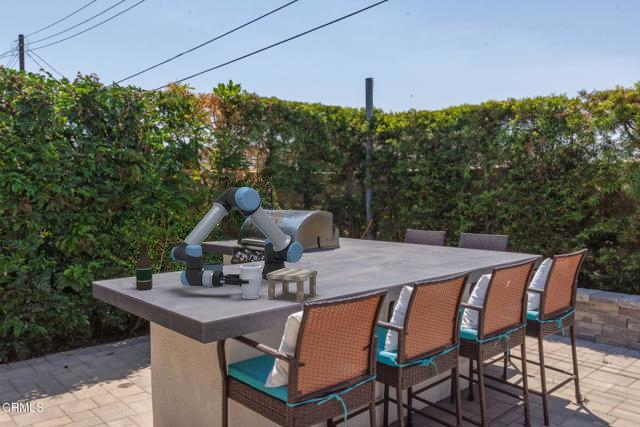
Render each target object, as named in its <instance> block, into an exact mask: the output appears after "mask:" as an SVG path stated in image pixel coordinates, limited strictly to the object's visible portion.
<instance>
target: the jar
mask: <svg viewBox="0 0 640 427" xmlns="http://www.w3.org/2000/svg"><path fill="white" fill-rule="evenodd" d="M239 269H240V271H239V274H240V279H256V285H242V286H240V291H241V293H242V295H241V298H242V299H244V300H255V299H256V300H257V299H259V298H260V291H261V289H262V288H261V287H262V281H263V278H262V271H261V270H262V269H263V268H262V265H260V264H242V265H240V266H239Z"/></svg>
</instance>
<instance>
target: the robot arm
mask: <svg viewBox="0 0 640 427" xmlns="http://www.w3.org/2000/svg"><path fill="white" fill-rule="evenodd" d="M234 210H236V211H238V212H239V213H240V214H241V215H242V216H243V217H244V218H248V219H249V220H250V221H251V222H252V223H253V224H254V225H255V227H256V228H257V229H258V230H259V231H260V232H261V233H262V234H263V235H264V236H265V238H266V239H265V240H264V245H263V252H264V258H263V260H264V261H263V262H264V265H263V268H262V271H261V274H262V280H268V278H267V274H268V273H271V272H274V271H277V270H280V269H283V268H287V267H286V264H285V263H290V264H291V263H292V264H295V263H297V262H299V261H300V260H301V259H302V257H303V255H304V247H303V245H302V244H301V243H300V242H298V241H295V240H294V239H293V238H292V237H291V235H289V234H285V232H284V231H283V230H281V228H280V227H279V226H278V224H276V222H275V221H274V220H273V219H272V218H271V216H270V215H269V214H268V213H267V212H266V211H265V209H264V208H263V207H262V201H261V199H260V194H259V192H258V191H257V190H255V189H254V188H252V187H248V186H243V187H235V186H234V187H229V188H227V189H226V190H225V191H223V192H222V193H221V194H220V195H219V196H218V197H217V198H216V200H215V201H214V202H213V203H212V207H211V208H210V210H208V212H207V213H206V214H205V215H204V216H203V218H202V219H201V220H200V221H199V222H198V224H197V225H196V226H195V227H194V228H193V229H192V231H191V232H190V233H189V234H188V235H187V236H186V238H185V239H184V240H183V241H182V242H181V244H180V245H178V246H175V247H173V248H172V250H171V251H170V257H171V259H172V260H173V261H175V262H177V263H182V264H185V269H184V270H182V271H181V273H180V283H181V285H182V286H186V287H188V286H189V287H206V286H207V287H206V288H209V286H214V287H217V288H221V287H222V286H223V285H227V286H228V285H229V286H239V287H241V286H242V285H256V279H240V273H226V274H224V271H208V270H205V271H204V269H203V249H202V248H203V247H202V246H201V244H202V243H203V242H204V241H205V239H206V238H207V237H208V236H209V235H210V233H211V232H212V231H213V230H214V228H215V227H216V226H217V225H218V224H219V223H220V222H221V220H222V219H223V218H224V217H225V216H228V215H229V214H230V213H231V212H232V211H234ZM276 280H278V281H279V279H275V281H276Z"/></svg>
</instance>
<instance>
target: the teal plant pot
mask: <svg viewBox="0 0 640 427" xmlns="http://www.w3.org/2000/svg"><path fill="white" fill-rule="evenodd" d="M223 267H224V263H223V262H218V261H217V262H216V261H214V262H205V263H202V268H203V271H205V270H208V271H222V272H224V271H223V269H224V268H223ZM205 288H207V286H205ZM209 288H210V289H211V288H214V289H216V288H218V287H214V286H209Z"/></svg>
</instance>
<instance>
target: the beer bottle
mask: <svg viewBox="0 0 640 427" xmlns="http://www.w3.org/2000/svg"><path fill="white" fill-rule="evenodd" d="M139 247H140V248H139V258H138V260H137V262H136V264H135V277H136V278H135V283H136V284H135V288H136V290H137V291H149V290H152V289H153V263H152V260H151V259H150V258H149V253H148V252H149V251H148V242H146V241H142V242H140V243H139Z"/></svg>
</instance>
